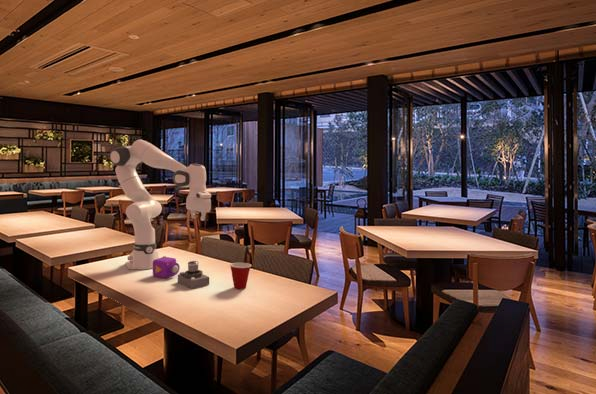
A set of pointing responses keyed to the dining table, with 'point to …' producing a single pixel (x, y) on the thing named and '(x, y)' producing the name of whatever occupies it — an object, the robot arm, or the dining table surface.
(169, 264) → the purple box with triangle
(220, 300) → the dining table surface
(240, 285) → the plastic cup
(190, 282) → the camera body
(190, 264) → the lens
